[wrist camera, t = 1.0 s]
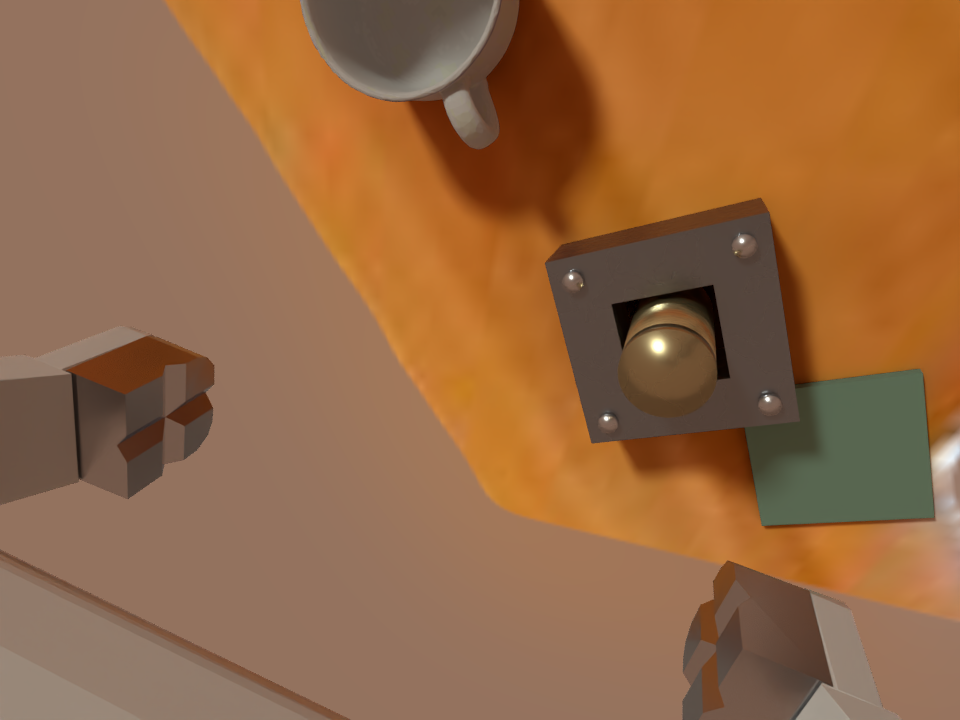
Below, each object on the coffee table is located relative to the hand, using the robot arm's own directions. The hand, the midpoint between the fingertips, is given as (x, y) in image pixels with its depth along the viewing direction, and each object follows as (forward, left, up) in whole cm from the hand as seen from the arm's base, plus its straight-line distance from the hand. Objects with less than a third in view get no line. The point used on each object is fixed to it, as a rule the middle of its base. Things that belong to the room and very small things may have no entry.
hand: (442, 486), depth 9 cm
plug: (-1, +8, -33) cm, 34 cm away
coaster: (-9, +19, -33) cm, 39 cm away
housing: (-1, +8, -33) cm, 34 cm away
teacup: (+8, -12, -33) cm, 36 cm away
